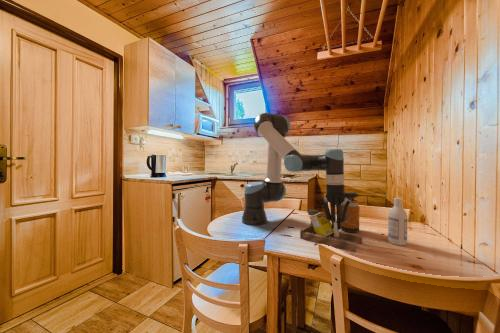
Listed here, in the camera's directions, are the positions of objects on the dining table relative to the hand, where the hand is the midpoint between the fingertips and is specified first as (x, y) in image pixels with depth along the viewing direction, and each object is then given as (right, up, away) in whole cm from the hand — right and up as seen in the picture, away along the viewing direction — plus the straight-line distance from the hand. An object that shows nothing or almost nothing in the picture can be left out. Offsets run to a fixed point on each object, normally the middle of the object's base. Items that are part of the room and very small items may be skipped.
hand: (336, 236), depth 97 cm
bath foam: (+27, -3, -1) cm, 27 cm away
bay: (-2, -3, +4) cm, 5 cm away
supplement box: (-3, -1, +2) cm, 4 cm away
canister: (+12, -2, +16) cm, 20 cm away
